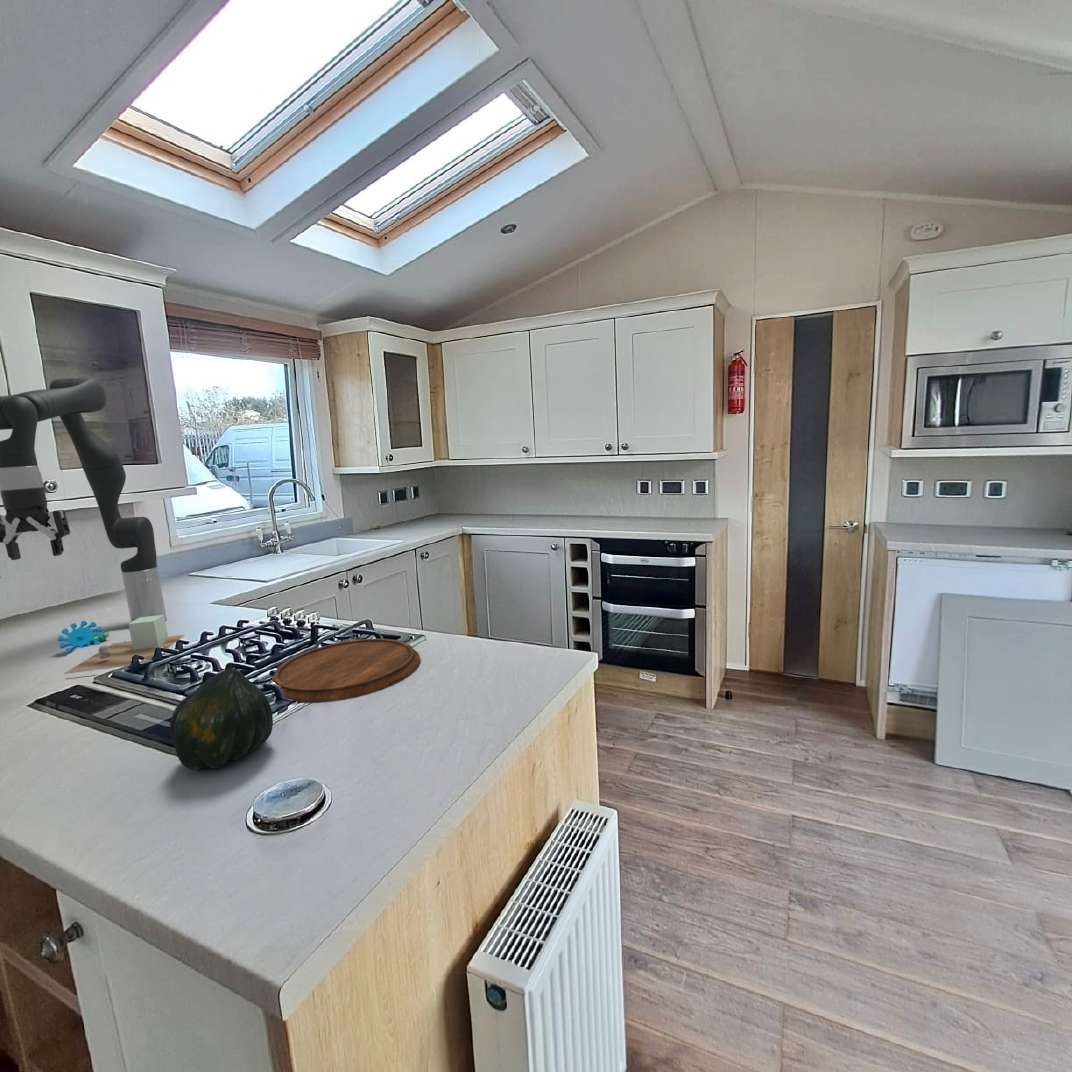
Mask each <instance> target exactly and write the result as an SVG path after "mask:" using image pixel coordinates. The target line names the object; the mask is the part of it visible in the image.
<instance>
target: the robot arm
mask: <svg viewBox="0 0 1072 1072" xmlns="http://www.w3.org/2000/svg"><path fill="white" fill-rule="evenodd" d="M106 404H107V394H106V391H105V389H104V387H103V385H102V383H100V382H99V381H98V380H96V379H94V378H90V377H70V378H69V377H67V378H57V379H53V380H52V381H50V383H49V387H48V388H45V389H35V390H29V391H24V392H20V393H17V394H13V395H12V394H10V395H0V430H1V431H3V430H11V434H10V436H9V438H7V439H2V440H0V496H1V500H2V506H3V508H4V510H5V515H2V514H0V543H1V544H4V545H5V548H6V552H7V553H6V554H7V557H8V558H9V559H10V560H11V561H17V560H20V559H22V557H21V551H20V548H19V543H18V542H17V540H18V538H19V537H20V536H21V535H22V534H23V533H26V532H27V533H29V532H40V533H42V534H44V535H46V536H47V537H48V538H49V539H50V540H49V543H50V547H51V552H52V555H53V556H54V557H57V556H58V557H59V556H62V555H63V553H64V551H65V549H64V543H63V538H64V537H66V536H68V535H69V536H70V534H71V530H70V526H69V523H68V519H67V515H66V511H65V510H64V509H55V510H53V511H50V510H49V509H48V502H47V501H48V500H47V495H46V491H45V490H46V489H45V485H44V482H43V477H42V474H41V471H40V468H39V465H38V460H37V456H36V454H37V453H36V451H35V445H36V436H37V434H36V433H37V429H38V427H37V426H38V423H39V422H42V421H46V420H50V419H54V418H57V417H59V419H61V421H62V424H63V426H64V428H65V429H66V432H67V434H68V435H69V437H70V440H71V442H72V444H73V446H74V449H75V451H76V453H77V456H78V460H79V461H80V464H81V467H82V470H83V471H84V472H83V473H84V474H85V477H86V480H87V483H88V484H89V486H90V489H91V490H92V492H93V496H94V498H95V501H96V504H97V506H98V509H99V511H100V512H99V513H100V516H101V520H102V522H103V526H104V530H105V532H106V536H107V539H108V540H109V542H110V544H111V545H112V546H113V548H115V549H133V548H134V549H135V548H137V549H136V554H135V555H133V556H132V557H130V558H128V559H125V560H123V561H122V562H121V563H120V571H121V577H122V580H123V586H124V592H125V597H126V600H127V601H126V602H127V607H128V612H129V617H130V623H131V622H133V621H134V620H136V619H138V618H140V617H149V616H158V615H164V617H165V621H167V620H168V619H167V613H166V607H165V601H164V597H163V596H164V595H163V591H162V585H161V580H160V575H159V568H158V564H157V549H156V542H155V541H156V540H155V533H154V527H153V524H152V522H151V520H150V519H149V518H148V517H145V516H133V517H122V516H121V513H120V509H119V500H120V497H121V494H122V491H123V489H124V488H125V484H126V478H127V475H126V474H127V473H126V472H125V468H124V466H123V463H122V460H121V457H120V455H119V454H118V452H117V451H116V450H115V449H114V448H113V447H112V446H111V445H110V444H108V443H107V442H106V441H105V440H104V439H102V438H101V437H100V436H99V435H98V434H96V433H95V432H94V431H93V430H92V429H91V428H90V427H89V425H88V423H87V422H86V421H85V419H84V417H83V415H82V414H86V413H87V414H89V413H96V412H99V411H101V410H103V409H104V408H105V406H106ZM49 520H53V521H54V523H55V526H54V525H53V523H51V522H50V521H49ZM7 523H8V524H9V525H10V526H9V528H8V530H6V524H7Z"/></svg>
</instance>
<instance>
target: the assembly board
mask: <svg viewBox="0 0 1072 1072" xmlns="http://www.w3.org/2000/svg"><path fill="white" fill-rule="evenodd" d="M184 636H185V634H182V635H172V636H168V639H169V640H167V641H166V642H165V643H163V644H162V645H161V646H159V647H163V648H164V649H166V650H167V649H168V648H170V647H171V646H173V645H174V644H175V643H176V642H178V641H179V640H180V639H182V638H183V637H184ZM156 648H157V647H154V648H146V649H137V650H133V646H132V640H130V641H122V642H121V641H120V642H113V643H112V644H110V645H109V646H108V645H103V644H102V645H100V646H99V648H98V652H96V653H95V654H94V655H92V656H90V657H89V658H87V659H86V660H83V661H82V662H80V663H79V664H77V665H76V666H73V667H72V668H71V669H69V670H67V671H66V672H64V674H73V673H80V672H90V671H97V670H104V669H106V670H107V669H113V668H121V667H130V664H131V661H132V656H134V655H139V656H143V657H144V658H145V659H152V657H153V656H154V650H155V649H156ZM97 675H98V674H94V675H84V676H77V677H76V676H75V677H70V678H69V677H68V678H65V679H64V680H71V679H73V680H74V679H80V678H81V679H82V678H89V677H96V676H97Z"/></svg>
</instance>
